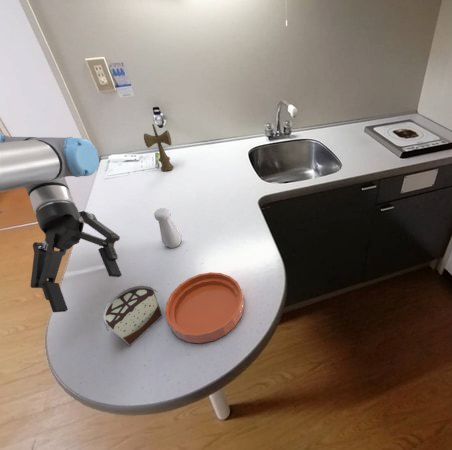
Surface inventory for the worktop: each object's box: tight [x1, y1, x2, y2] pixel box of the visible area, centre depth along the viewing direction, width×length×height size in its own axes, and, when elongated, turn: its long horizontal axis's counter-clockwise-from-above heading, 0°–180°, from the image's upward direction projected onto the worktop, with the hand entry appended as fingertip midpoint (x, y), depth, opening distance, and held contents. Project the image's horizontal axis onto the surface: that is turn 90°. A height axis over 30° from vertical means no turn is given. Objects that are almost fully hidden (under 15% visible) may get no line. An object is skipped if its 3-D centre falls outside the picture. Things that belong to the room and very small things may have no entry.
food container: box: [102, 285, 164, 347], centre depth 71 cm, size 12×6×10 cm, turn 149°
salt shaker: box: [153, 207, 183, 249], centre depth 92 cm, size 6×6×13 cm
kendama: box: [143, 123, 174, 172], centre depth 126 cm, size 6×10×20 cm, turn 107°
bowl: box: [164, 271, 245, 344], centre depth 76 cm, size 18×18×4 cm
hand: (88, 293), depth 63 cm, fingers open, 13 cm apart
